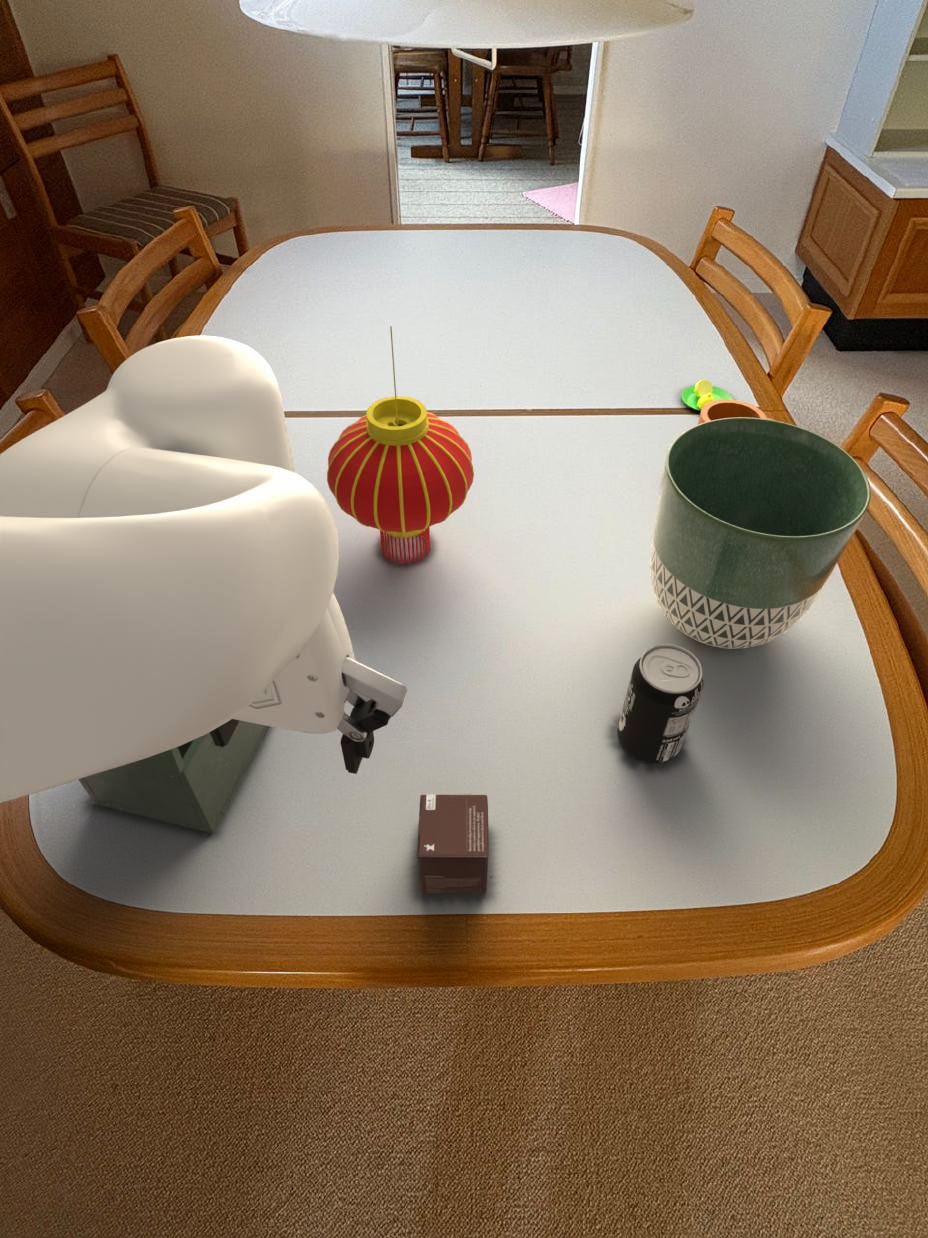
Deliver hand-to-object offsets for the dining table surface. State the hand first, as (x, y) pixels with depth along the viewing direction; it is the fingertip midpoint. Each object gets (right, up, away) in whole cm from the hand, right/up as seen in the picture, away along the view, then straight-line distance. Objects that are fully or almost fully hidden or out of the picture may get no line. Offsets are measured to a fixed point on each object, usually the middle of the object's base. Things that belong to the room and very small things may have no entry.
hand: (293, 742), depth 56 cm
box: (+11, -14, +17) cm, 24 cm away
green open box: (-16, -5, +24) cm, 29 cm away
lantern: (+5, +18, +46) cm, 49 cm away
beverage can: (+31, -4, +26) cm, 41 cm away
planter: (+42, +9, +37) cm, 56 cm away
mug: (+50, +30, +57) cm, 81 cm away
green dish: (+51, +43, +69) cm, 96 cm away
